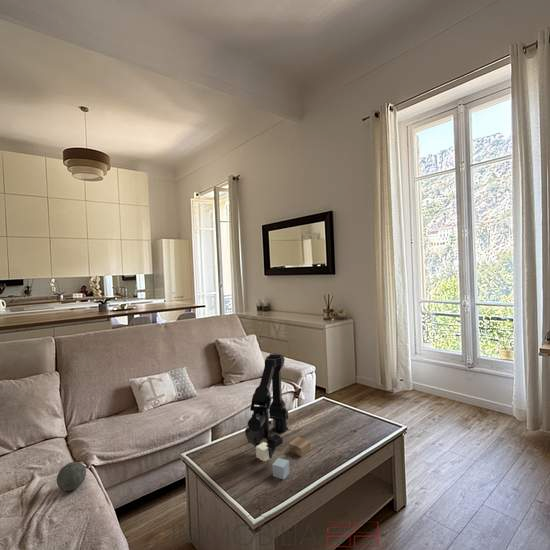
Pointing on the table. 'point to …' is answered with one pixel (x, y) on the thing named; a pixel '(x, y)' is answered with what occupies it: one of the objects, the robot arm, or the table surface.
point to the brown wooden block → (299, 446)
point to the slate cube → (280, 468)
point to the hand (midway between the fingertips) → (264, 454)
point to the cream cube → (262, 451)
